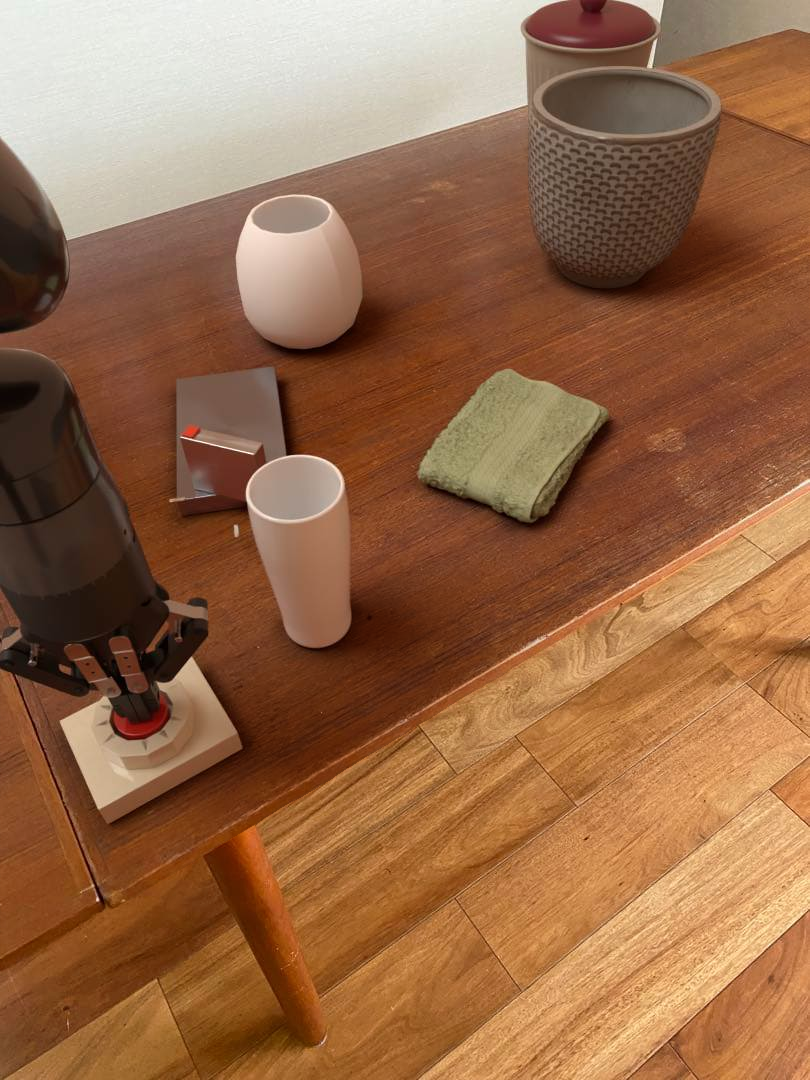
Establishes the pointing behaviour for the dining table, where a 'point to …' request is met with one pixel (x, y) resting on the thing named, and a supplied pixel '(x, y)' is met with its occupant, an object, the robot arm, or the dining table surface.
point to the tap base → (227, 425)
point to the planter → (617, 168)
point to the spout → (221, 461)
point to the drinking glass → (304, 544)
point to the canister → (585, 38)
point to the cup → (298, 272)
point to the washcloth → (513, 445)
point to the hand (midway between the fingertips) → (142, 710)
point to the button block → (151, 745)
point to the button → (144, 724)
